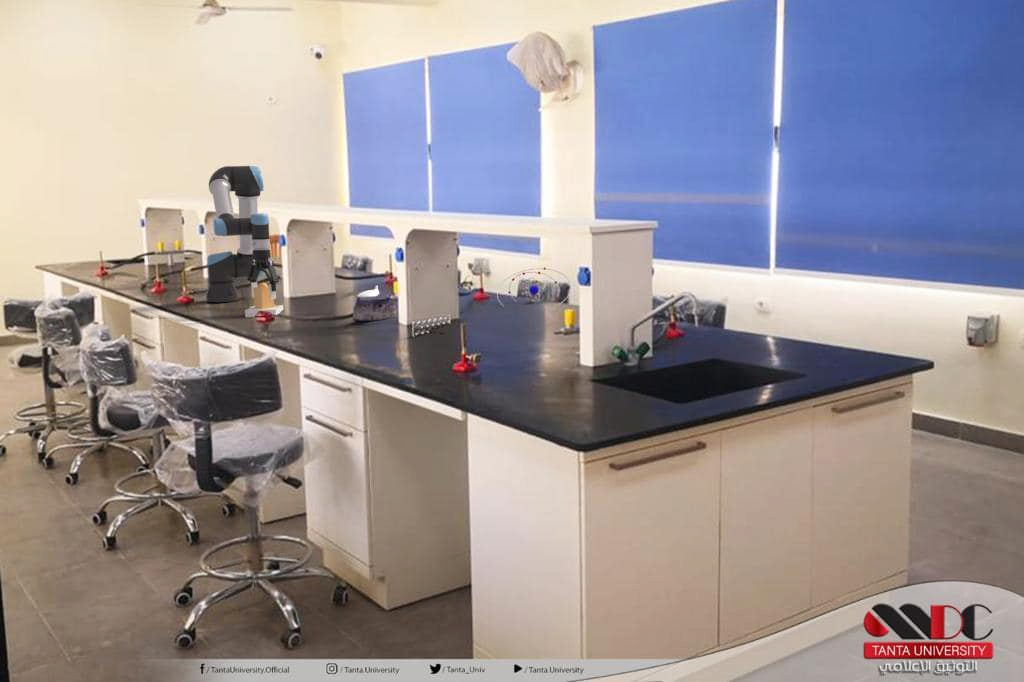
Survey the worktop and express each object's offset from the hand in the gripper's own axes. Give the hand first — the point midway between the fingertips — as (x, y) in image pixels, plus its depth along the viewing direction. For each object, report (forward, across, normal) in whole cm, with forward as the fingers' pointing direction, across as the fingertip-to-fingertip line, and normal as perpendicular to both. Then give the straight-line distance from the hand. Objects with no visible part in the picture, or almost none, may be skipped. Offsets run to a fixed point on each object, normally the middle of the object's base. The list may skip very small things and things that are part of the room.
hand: (263, 298), depth 434 cm
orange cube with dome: (+4, 0, 0) cm, 4 cm away
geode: (+8, +57, +15) cm, 59 cm away
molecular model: (+10, +98, +11) cm, 99 cm away
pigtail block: (+7, 0, 0) cm, 7 cm away
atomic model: (+7, +78, +71) cm, 105 cm away
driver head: (+5, 0, +65) cm, 65 cm away
